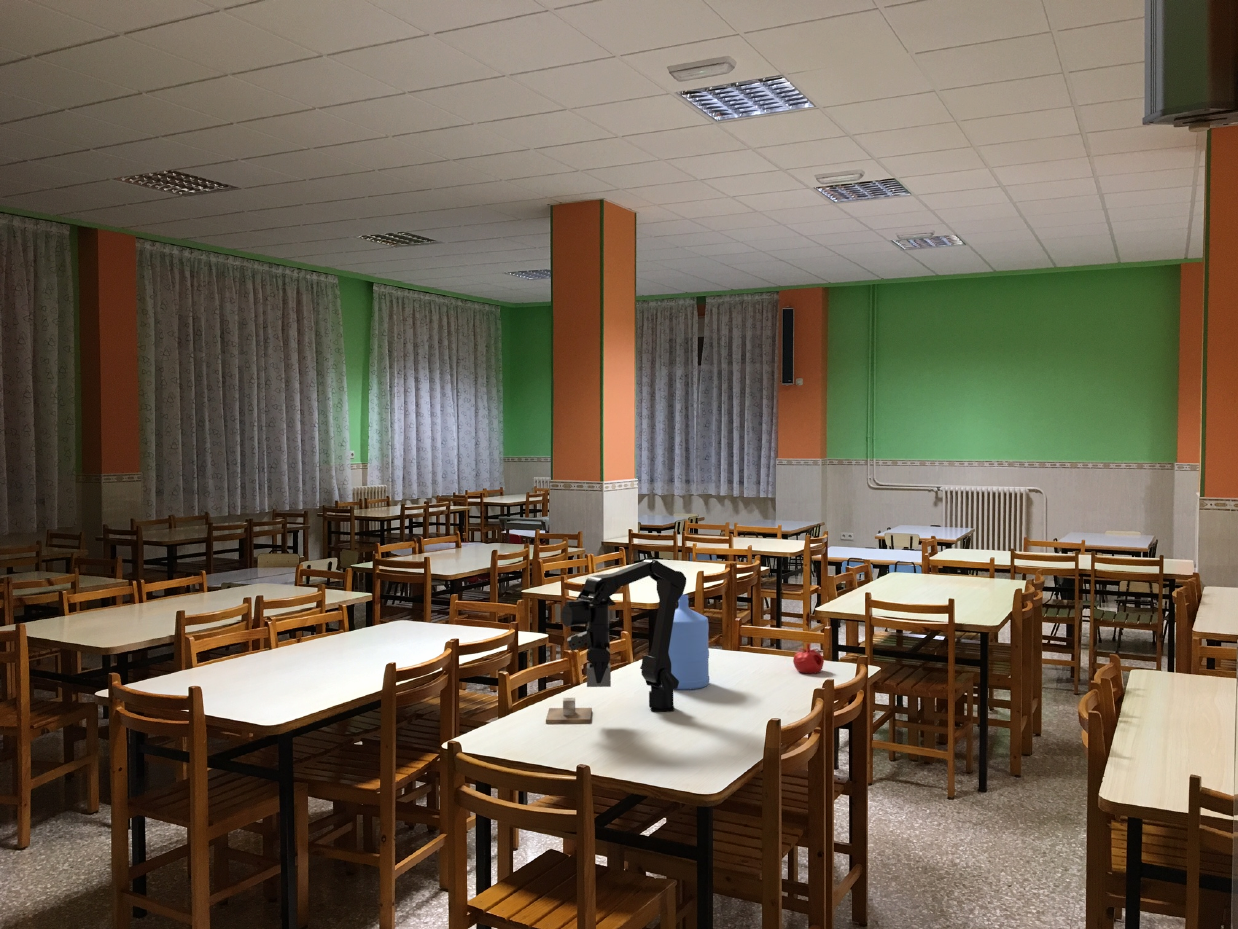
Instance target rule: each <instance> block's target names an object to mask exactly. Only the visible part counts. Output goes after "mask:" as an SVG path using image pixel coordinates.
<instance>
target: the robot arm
mask: <svg viewBox="0 0 1238 929" xmlns="http://www.w3.org/2000/svg"><path fill="white" fill-rule="evenodd" d="M647 577H650V579H652V580H653V581H655V582H656V593H657V597H658V599H659V602H658V608H657V614H656V620H655V626H654V632H653V637H652V643H651V644H652V645H651V648H650V650H649V652H648V653H647V655H646V654H643V655H642V657H641V665H640V668H639V669H640V670H641V676H642V677H643V679H644V681H645V683H646V685H647V686H650V690H649V691H648V706H649V708H650V711H651V712H674V711H675V707H674V690H678V689H677V688H678V684H679V681H678V680H677V679H676V677H675V676H674V675H673V674H672V673H671V665H672V664H671V660H670V657H669V646H670V640H671V634H672V627H673V621H674V615H675V610H676V609H677V604H678V601H679V599H680V597H681V596H682V595H684V592H685V588H686V585H687V577H686V576H685V574H684V572H682V571H679V570H675V569H673V568H671V567H669V566H667V565H665V564H663V563H662V562H660V561H658V560H657V559H651V558H650V559H649V558H646V559H645V560H642V561H641V562H637V563H635V564H633V565H630V566H628V567H625V568H623V569H620V570H618V571H615V572H612V573H605V574H602V573H601V574H596V575H595V574H594V575H589V577H587V578H586V579H585V582H584V585H583V587H582V589H581V591H579V594H578V596H577V598H576V599H575V600H566V601H565V602H564V604H565V605H563V607H562V609H561V612H560V618H561V621H562V622H561V623H562V625H563V626H565V627H574V626H575V627H576V626H584V625H587V626H586V631H585V630H584V631H583V632H580V633H575V635H571V636H569V637H567V639H566V642H567V644H568V648H569V650H570V652H574V651H577V650H578V649H580V648H583V647H586V648H587V650H586V661H588V662H589V663H591V664H592V665H593V668H594V673H595V677H596V682H597V683H601V681H602V679H603V676H604V673H605V671H606V668H607V666H608V663H610V660H611V650H610V648H611V644H610V643H611V641H610V640H611V639H610V611H609V610H610V607H611V606H613V607H614V606H616V604H617V603H616V602H615V601H614V600H613V599H612V598H611V596H613V595H614V594H616V593H617V592H618V590H619V589H621V588H623V587H625V586H627V585H630V584H632V583H635V582H638V581H640V580H642V579H644V578H647ZM588 662H587V663H588Z"/></svg>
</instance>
